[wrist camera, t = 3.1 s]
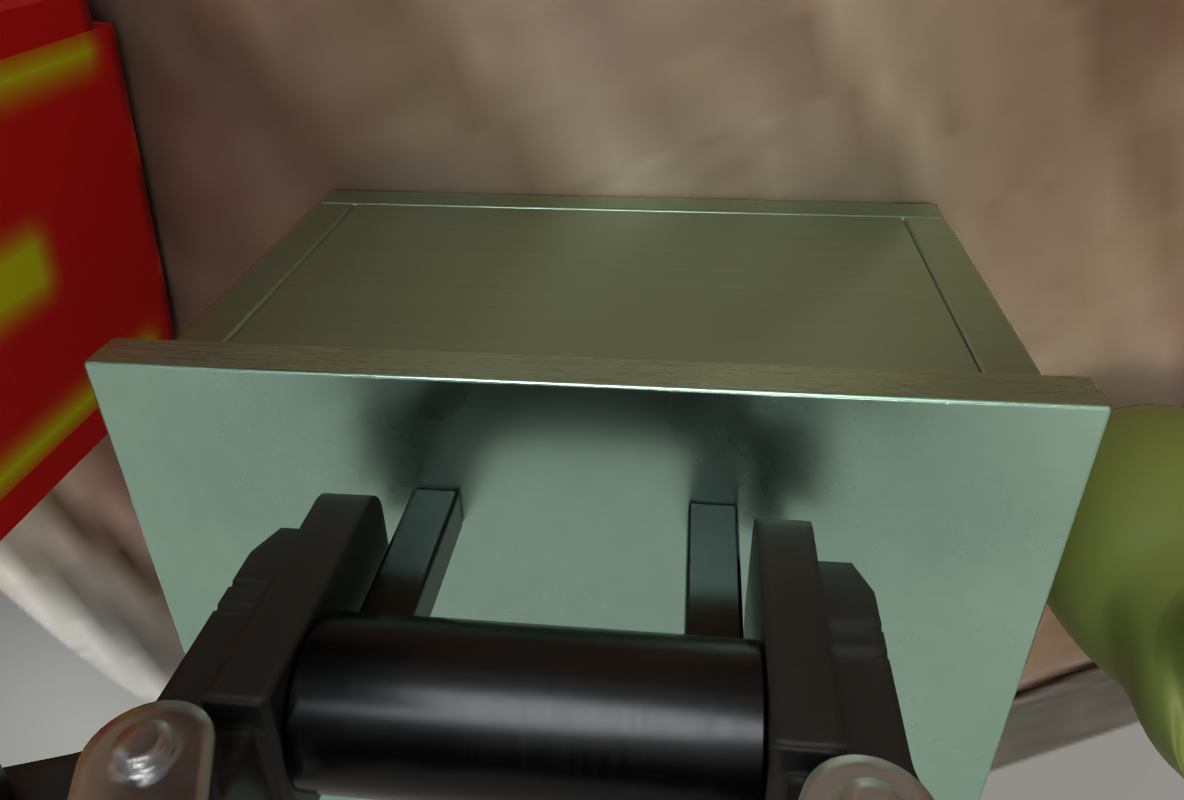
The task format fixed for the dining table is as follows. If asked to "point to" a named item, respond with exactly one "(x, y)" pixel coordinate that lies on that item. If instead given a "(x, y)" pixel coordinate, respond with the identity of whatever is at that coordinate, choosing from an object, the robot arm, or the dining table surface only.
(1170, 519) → the pear
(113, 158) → the french fries container
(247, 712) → the robot arm
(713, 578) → the freezer lid
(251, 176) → the dining table surface
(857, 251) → the box
